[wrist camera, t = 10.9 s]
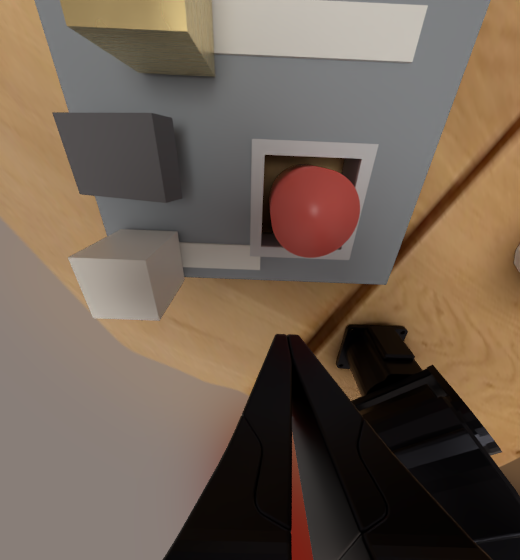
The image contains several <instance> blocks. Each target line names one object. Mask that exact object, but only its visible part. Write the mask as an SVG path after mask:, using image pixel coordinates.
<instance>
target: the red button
mask: <svg viewBox="0 0 520 560" xmlns="http://www.w3.org/2000/svg"><path fill="white" fill-rule="evenodd" d="M269 207H270V215H271V223H272V229H273V232H274V235H275V237H276V239H277V240H278V242H279V243H280V244H281V246H283V247H284V248H285V249H286V250H287V251H289V252H290V253H292V254H294V255H297V256H300V257H306V258H315V257H321V256H325V255H327V254H330V253H332V252H334V251H335V250H337V249H338V248H340V247H341V246H342V245H343V244H344V243H345V242H346V241H347V240H348V239H349V238H350V237H351V235H352V234H353V232H354V230H355V228H356V226H357V223H358V220H359V215H360V200H359V196H358V193H357V191H356V189H355V187H354V185H353V184H352V183H351V181H350V180H349V179H347V178H346V177H345V176H344V175H342V174H341V173H339V172H336V171H334V170H330V169H326V168H322V167H317V166H313V165H309V164H298V165H294V166H291V167H289V168H287V169H286V170H284V171H283V172H282V173H281V174H280V175H279V176H278V177H277V178H276V179H275V181H274V183H273V185H272V187H271V190H270V194H269Z"/></svg>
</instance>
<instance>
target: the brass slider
mask: <svg viewBox="0 0 520 560" xmlns="http://www.w3.org/2000/svg"><path fill="white" fill-rule="evenodd" d="M60 3H61V7H62V11H63V14H64V18H65V22H66V25H67V26H68V27H69V28H71V29H72V30H74V31H75V32H77V33H78V34H80V35H81V36H83V37H85V38H86V39H88V40H89V41H91V42H92V43H94V44H95V45H97V46H98V47H100V48H101V49H103V50H104V51H106V52H108V53H109V54H111V55H112V56H114V57H115V58H117V59H118V60H120V61H121V62H123V63H124V64H126V65H128V66H129V67H131V68H132V69H134V70H135V71H137V72H138V73H148V74H170V75H192V76H214V77H215V61H214V39H213V18H212V0H60Z"/></svg>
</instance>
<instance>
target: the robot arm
mask: <svg viewBox="0 0 520 560" xmlns="http://www.w3.org/2000/svg"><path fill="white" fill-rule="evenodd" d="M351 329H352V330H351ZM407 332H408V331H407V330H406V328H405V327H397V326H369V325H349V326H348V327H347V328H346V331H345V334H344V338H343V341H342V345H341V348H340V351H339V355H338V358H337V361H336V365H337V367H338V368H343V369H351V371H352V374H353V376H354V379H355V381H356V384H357V386H358V389H359V391H360V394H361V396H362V397H360V398H357V399H355V400H353V401H350V399H349V398H348V397H347V396H346V394H345V393H344V392H343V391H342V389H341V388H340V387H339V386H338V384H337V383H336V382H335V380H334V379H333V378H332V377H331V375H330V374H329V373H328V372H327V370H326V369H325V368H324V367H323V365H322V364H321V363H320V361H319V360H318V359H317V358H316V356H315V355H314V354H313V353H312V351H311V350H310V349H309V348H308V346H307V345H306V344H305V343H304V341H303V340H302V339H301V337H300V336H299V335H290V334H289V335H286V334H276V335H275V337H274V339H273V342H272V344H271V346H270V349H269V351H268V353H267V356H266V358H265V361H264V363H263V365H262V368H261V370H260V372H259V375H258V377H257V380H256V382H255V384H254V387H253V389H252V391H251V394H250V396H249V399H248V401H247V404H246V406H245V408H244V411H243V413H242V416H241V417H240V420H239V422H238V424H237V427H236V429H235V431H234V433H233V436H232V438H231V440H230V442H229V444H228V447H227V448H226V450H225V452H224V454H223V456H222V458H221V460H220V462H219V464H218V466H217V467H216V469H215V471H214V473H213V475H212V476H211V478H210V480H209V482H208V483H207V485H206V487H205V489H204V490H203V492H202V494H201V496H200V498H199V499H198V501H197V503H196V505H195V506H194V508H193V510H192V512H191V513H190V515H189V517H188V519H187V521H186V522H185V524H184V526H183V528H182V529H181V531H180V533H179V534H178V536H177V538H176V539H175V541H174V543H173V544H172V546H171V547H170V549H169V551H168V552H167V554H166V555H165V557H164V558H163V560H292V555H291V526H292V525H291V524H292V521H291V520H292V519H291V517H292V516H291V515H292V511H291V510H292V504H291V503H292V432H293V438H294V444H295V450H296V456H297V462H298V468H299V475H300V481H301V486H302V492H303V499H304V505H305V510H306V517H307V523H308V529H309V535H310V541H311V546H312V553H313V559H314V560H520V497H519V495H518V493H517V492H516V490H515V489H514V487H513V486H512V485H511V484H510V482H509V481H508V479H507V478H506V477H505V476H504V474H503V473H502V471H501V470H500V469H499V467H498V466H497V465H496V463H495V462H494V461H493V459H492V458H491V456H490V455H494V454H497V453H501V452H502V451H501V449H500V448H499V446H498V445H497V444H496V442H495V441H494V440H493V438H492V437H491V436H490V434H489V433H488V432H487V430H486V429H485V428H484V427H483V425H482V424H481V423H480V421H479V420H478V419H477V418H476V416H475V415H474V414H473V413H472V411H471V410H470V409H469V408H468V406H467V405H466V404H465V403H464V402H463V400H462V399H461V398H460V397H459V396H458V394H457V393H456V392H455V391H454V390H453V388H452V387H451V386H450V385H449V384H448V382H447V381H446V380H445V379H444V378H443V376H442V375H441V374H440V373H439V372H438V370H437V369H436V368H435V367H434V366H433V365H431V366H429V367H427V369H425V370H422V369H421V368H420V366H419V365H418V364H417V362H416V361H415V359H414V358H415V356H414V355H413V353H412V352H411V351H410V349H409V348H408V347H407V345H406V344H405V343H404V339H405V337H406V335H407Z"/></svg>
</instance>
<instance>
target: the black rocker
mask: <svg viewBox="0 0 520 560" xmlns="http://www.w3.org/2000/svg"><path fill="white" fill-rule="evenodd" d="M53 116H54V119H55V122H56V125H57V128H58V131H59V134H60V137H61V140H62V143H63V146H64V148H65V151H66V154H67V157H68V160H69V163H70V166H71V169H72V172H73V175H74V178H75V181H76V184H77V187H78V190H79V193H80V194H83V195H93V196H102V197H112V198H122V199H132V200H141V201H151V202H161V203H168V202H172V201H175V200H179V199H182V190H181V182H180V175H179V167H178V159H177V151H176V143H175V135H174V127H173V120H172V118H171V117H167V116H163V115H159V114H155V113H53Z"/></svg>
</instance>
